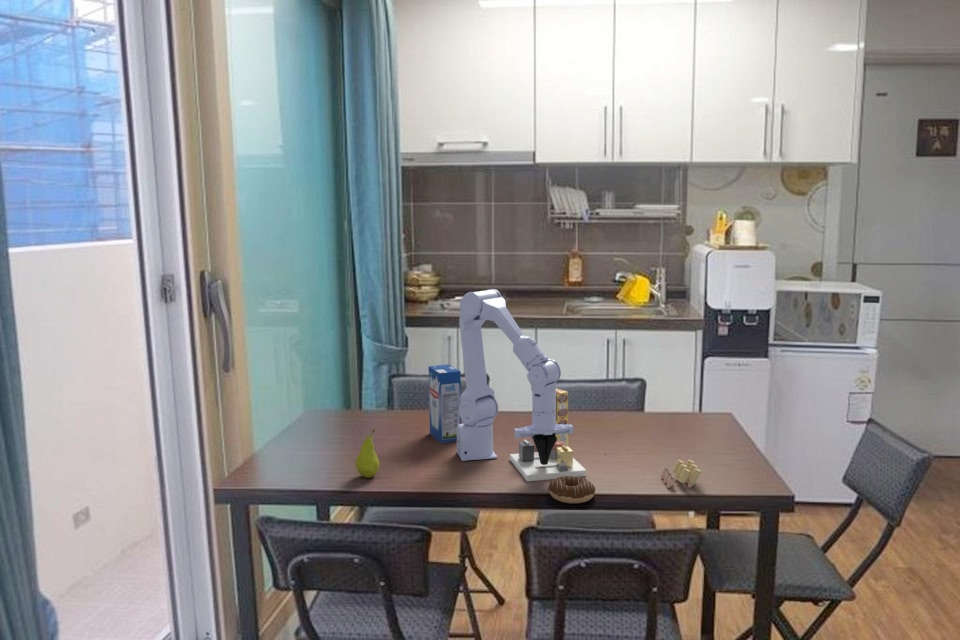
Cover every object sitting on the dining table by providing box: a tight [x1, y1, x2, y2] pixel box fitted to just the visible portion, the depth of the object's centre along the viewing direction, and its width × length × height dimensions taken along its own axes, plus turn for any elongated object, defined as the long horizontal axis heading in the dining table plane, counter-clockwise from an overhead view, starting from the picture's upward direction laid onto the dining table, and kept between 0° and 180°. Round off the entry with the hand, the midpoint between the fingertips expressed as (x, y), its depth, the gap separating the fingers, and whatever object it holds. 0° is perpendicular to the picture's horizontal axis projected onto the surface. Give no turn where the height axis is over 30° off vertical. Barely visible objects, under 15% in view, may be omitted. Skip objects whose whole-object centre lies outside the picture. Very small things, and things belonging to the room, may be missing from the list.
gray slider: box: [518, 439, 535, 461], centre depth 193 cm, size 3×4×5 cm
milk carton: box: [427, 363, 462, 444], centre depth 216 cm, size 10×6×20 cm, turn 22°
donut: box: [548, 476, 596, 504], centre depth 172 cm, size 11×11×4 cm
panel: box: [509, 444, 587, 482], centre depth 191 cm, size 15×16×4 cm
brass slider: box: [557, 445, 574, 467], centre depth 188 cm, size 3×4×5 cm
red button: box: [552, 440, 565, 451], centre depth 195 cm, size 4×4×3 cm
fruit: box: [354, 428, 380, 479], centre depth 185 cm, size 6×6×12 cm
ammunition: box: [660, 459, 702, 489], centre depth 180 cm, size 5×7×8 cm
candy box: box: [555, 387, 569, 446], centre depth 210 cm, size 9×4×15 cm, turn 33°
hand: (543, 463), depth 187 cm, fingers closed
